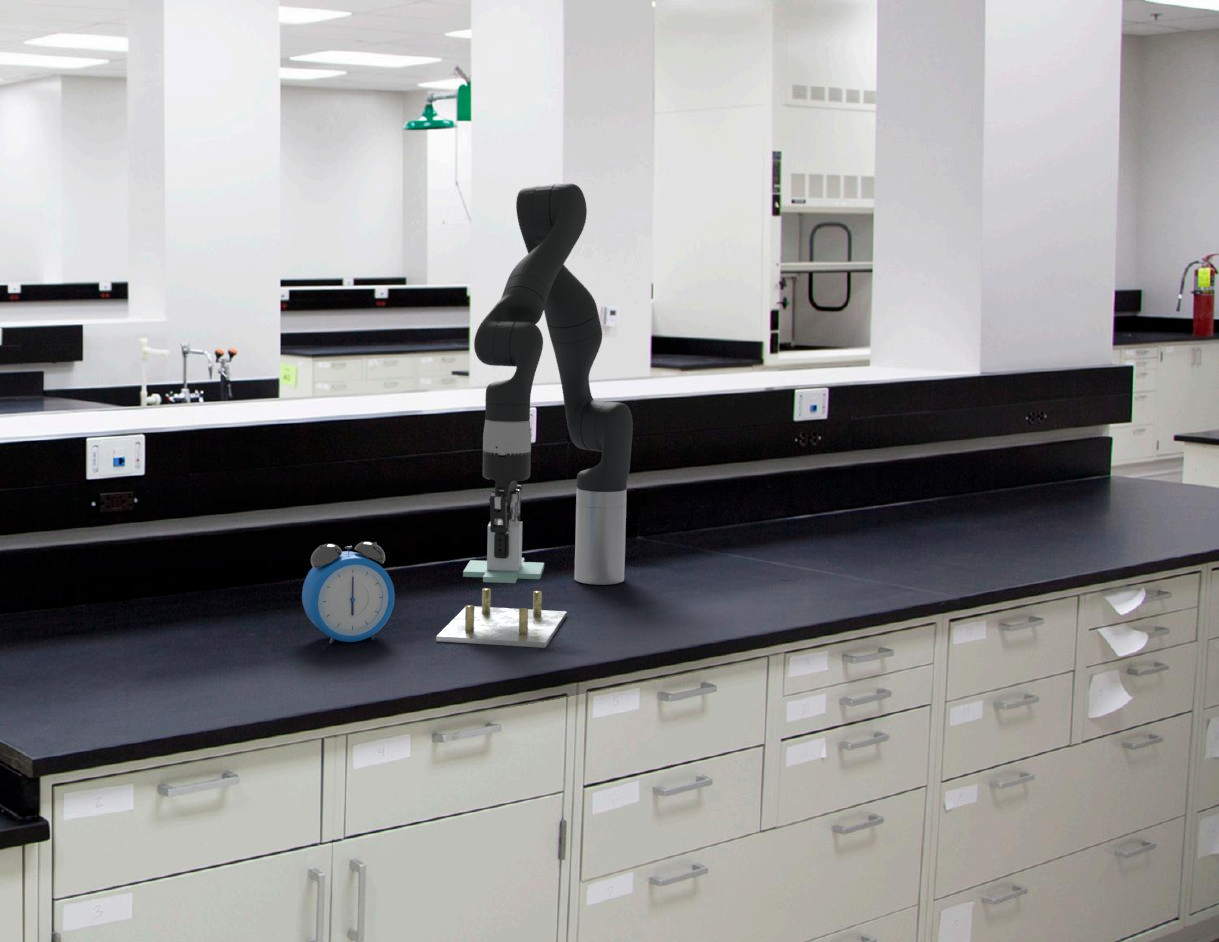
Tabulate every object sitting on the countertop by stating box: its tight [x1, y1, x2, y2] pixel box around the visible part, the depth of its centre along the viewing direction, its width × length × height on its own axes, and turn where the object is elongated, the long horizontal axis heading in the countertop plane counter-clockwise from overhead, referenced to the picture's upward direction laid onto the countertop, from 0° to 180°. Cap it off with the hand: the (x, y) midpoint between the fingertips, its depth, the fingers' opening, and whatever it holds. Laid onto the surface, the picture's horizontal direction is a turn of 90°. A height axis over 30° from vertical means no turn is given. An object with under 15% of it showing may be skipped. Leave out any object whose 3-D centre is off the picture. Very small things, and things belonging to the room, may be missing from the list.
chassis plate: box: [435, 587, 568, 649], centre depth 240 cm, size 21×17×5 cm
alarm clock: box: [301, 541, 396, 645], centre depth 230 cm, size 13×6×15 cm, turn 116°
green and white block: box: [462, 520, 545, 584], centre depth 239 cm, size 16×12×8 cm
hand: (504, 554), depth 239 cm, fingers closed on green and white block, 5 cm apart
